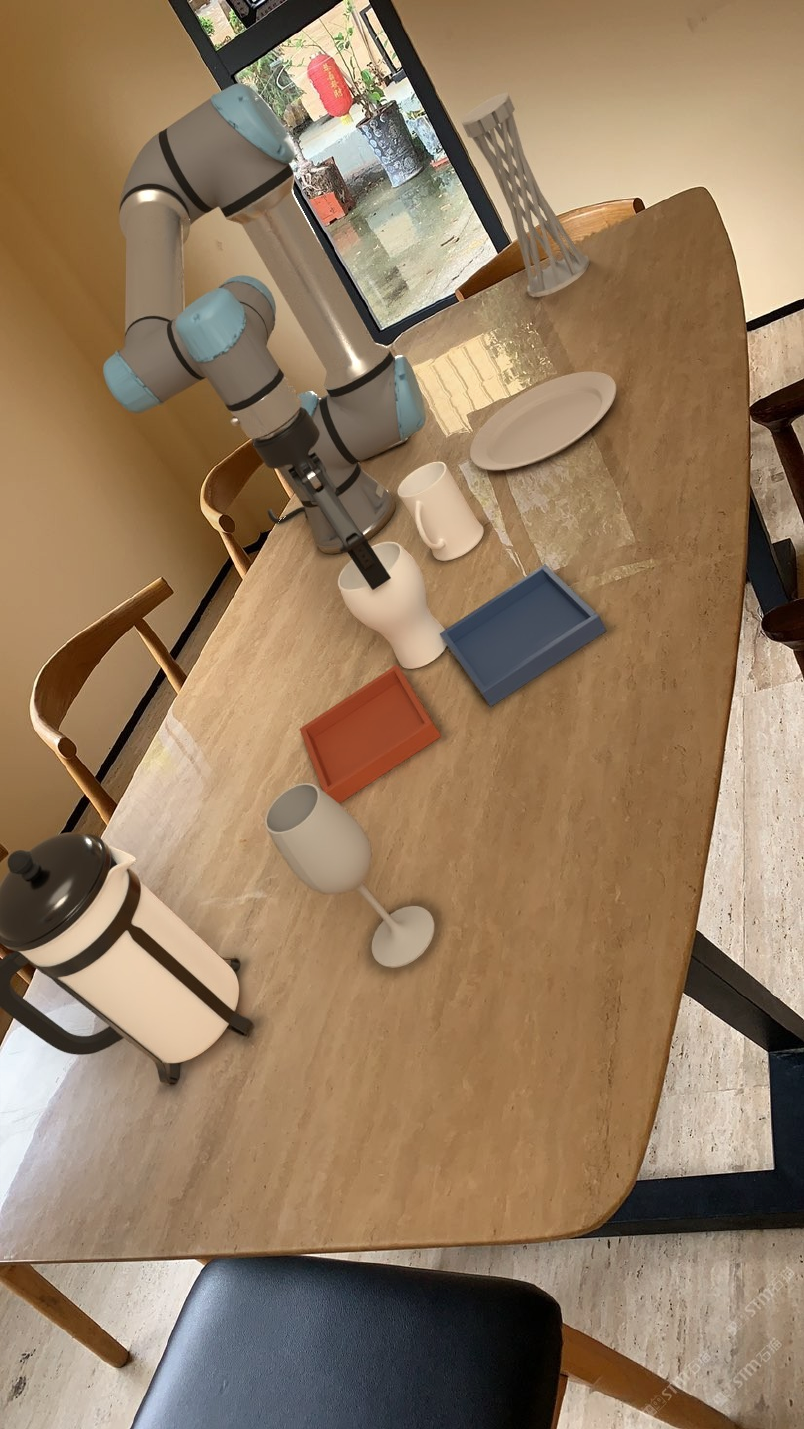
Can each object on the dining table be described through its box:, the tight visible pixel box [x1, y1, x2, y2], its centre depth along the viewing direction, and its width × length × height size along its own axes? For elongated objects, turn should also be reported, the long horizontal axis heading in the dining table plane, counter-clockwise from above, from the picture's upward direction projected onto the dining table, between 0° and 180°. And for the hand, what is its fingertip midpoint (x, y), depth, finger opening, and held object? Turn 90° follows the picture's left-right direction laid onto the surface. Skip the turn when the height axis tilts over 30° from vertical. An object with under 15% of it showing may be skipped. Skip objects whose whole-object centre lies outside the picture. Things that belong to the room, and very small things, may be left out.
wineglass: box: [264, 782, 436, 969], centre depth 100 cm, size 8×8×21 cm
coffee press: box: [0, 831, 255, 1086], centre depth 103 cm, size 17×16×30 cm
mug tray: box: [440, 563, 607, 708], centre depth 131 cm, size 17×17×2 cm
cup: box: [337, 541, 448, 670], centre depth 137 cm, size 11×11×15 cm
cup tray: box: [299, 664, 442, 804], centre depth 132 cm, size 16×16×2 cm
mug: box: [396, 461, 485, 562], centre depth 153 cm, size 12×8×12 cm
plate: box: [469, 371, 617, 471], centre depth 169 cm, size 26×26×2 cm
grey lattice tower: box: [461, 92, 591, 298], centre depth 204 cm, size 14×13×35 cm
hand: (367, 563), depth 133 cm, fingers open, 13 cm apart
